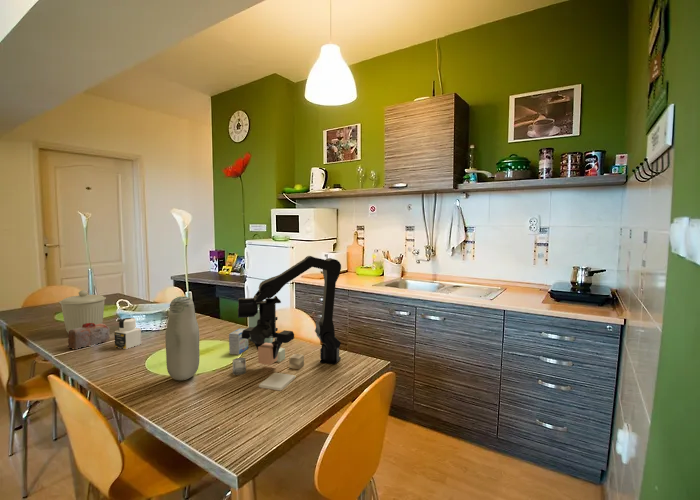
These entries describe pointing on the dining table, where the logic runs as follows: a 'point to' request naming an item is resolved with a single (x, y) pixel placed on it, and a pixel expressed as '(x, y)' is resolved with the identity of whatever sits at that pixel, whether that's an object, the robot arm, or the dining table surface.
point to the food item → (88, 335)
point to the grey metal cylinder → (239, 366)
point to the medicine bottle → (127, 334)
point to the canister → (82, 310)
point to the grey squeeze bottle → (182, 339)
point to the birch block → (296, 361)
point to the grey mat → (277, 381)
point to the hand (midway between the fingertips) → (268, 357)
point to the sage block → (281, 354)
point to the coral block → (266, 354)
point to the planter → (253, 322)
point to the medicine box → (237, 342)
